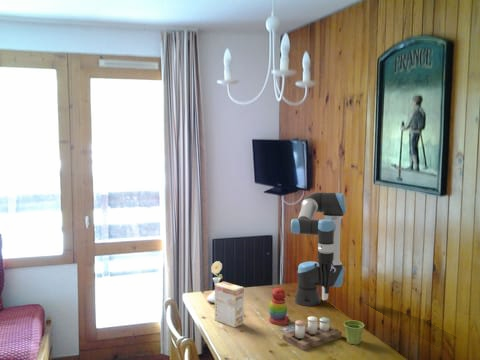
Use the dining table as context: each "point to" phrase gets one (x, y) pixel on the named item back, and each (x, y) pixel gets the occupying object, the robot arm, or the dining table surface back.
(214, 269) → the flower in vase
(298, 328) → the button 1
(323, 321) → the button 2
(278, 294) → the stacking bear
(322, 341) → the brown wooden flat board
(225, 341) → the dining table surface
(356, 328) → the plant pot
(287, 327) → the card
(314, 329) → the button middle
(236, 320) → the coffeecake box
